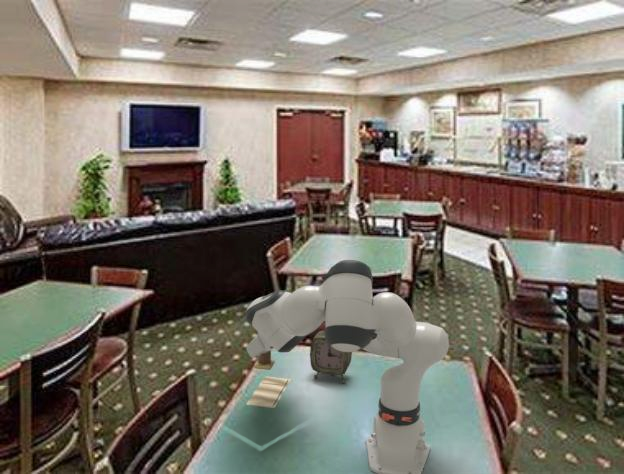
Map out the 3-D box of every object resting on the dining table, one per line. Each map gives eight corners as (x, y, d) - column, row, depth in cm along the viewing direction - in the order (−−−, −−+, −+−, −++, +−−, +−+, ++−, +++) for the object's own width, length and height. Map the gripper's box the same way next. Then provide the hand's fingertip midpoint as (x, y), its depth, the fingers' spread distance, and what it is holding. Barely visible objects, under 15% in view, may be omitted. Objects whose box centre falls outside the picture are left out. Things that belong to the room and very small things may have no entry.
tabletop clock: (309, 380, 197) (310, 317, 193) (316, 370, 206) (317, 309, 201) (347, 386, 193) (348, 321, 188) (352, 375, 201) (354, 313, 197)
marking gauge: (274, 363, 180) (274, 338, 178) (270, 369, 174) (270, 344, 173) (259, 361, 181) (259, 336, 179) (254, 368, 175) (253, 342, 174)
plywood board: (274, 412, 174) (274, 408, 173) (245, 408, 176) (245, 404, 175) (290, 382, 195) (290, 379, 195) (265, 380, 197) (265, 376, 197)
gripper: (300, 315, 178) (280, 335, 186) (255, 331, 163) (235, 352, 171) (310, 331, 175) (289, 351, 184) (265, 348, 160) (245, 369, 169)
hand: (263, 351), depth 177 cm, fingers closed on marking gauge, 3 cm apart
